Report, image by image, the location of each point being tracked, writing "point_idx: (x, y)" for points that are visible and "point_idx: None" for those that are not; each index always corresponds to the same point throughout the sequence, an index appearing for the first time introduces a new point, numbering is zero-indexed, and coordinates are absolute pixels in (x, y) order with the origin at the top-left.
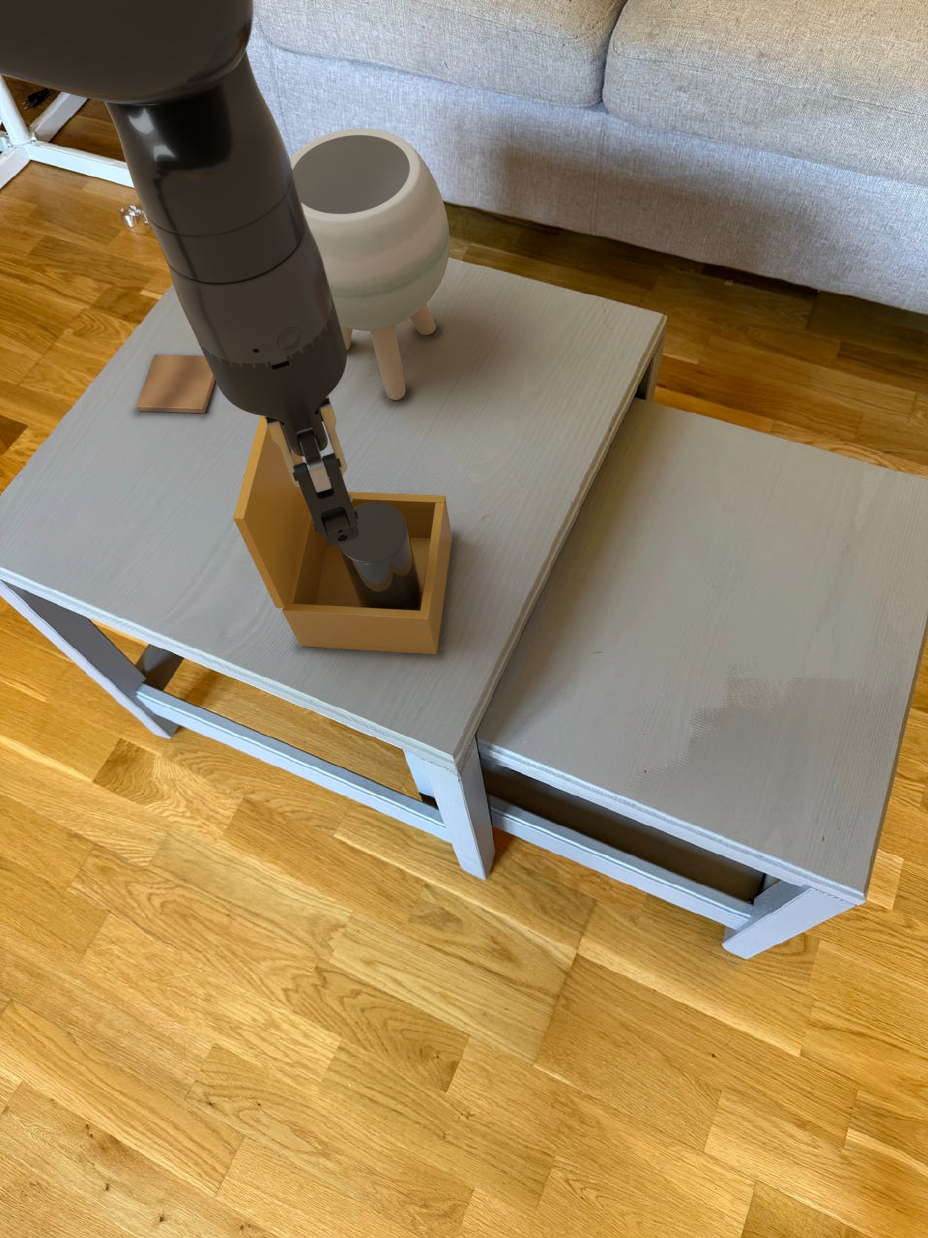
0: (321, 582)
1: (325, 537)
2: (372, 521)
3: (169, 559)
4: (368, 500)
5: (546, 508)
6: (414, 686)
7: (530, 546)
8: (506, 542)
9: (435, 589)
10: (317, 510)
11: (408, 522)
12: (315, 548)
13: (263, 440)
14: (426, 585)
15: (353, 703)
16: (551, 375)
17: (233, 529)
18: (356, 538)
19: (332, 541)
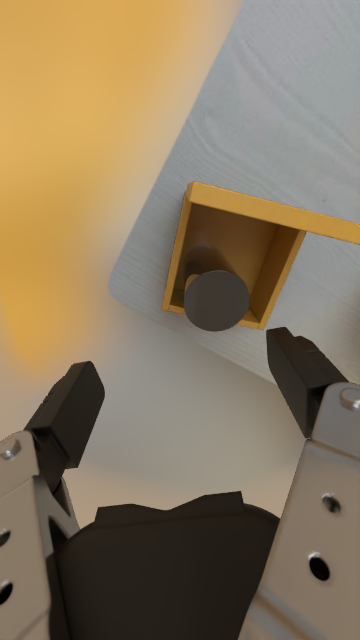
0: (235, 213)
1: (66, 375)
2: (227, 304)
3: (309, 38)
4: (279, 274)
5: (252, 360)
6: (144, 273)
7: (228, 348)
8: (235, 337)
9: None
10: None
11: (260, 290)
12: None
13: (338, 238)
14: None
15: (134, 231)
16: (347, 375)
17: (318, 123)
18: (212, 289)
19: (50, 390)
